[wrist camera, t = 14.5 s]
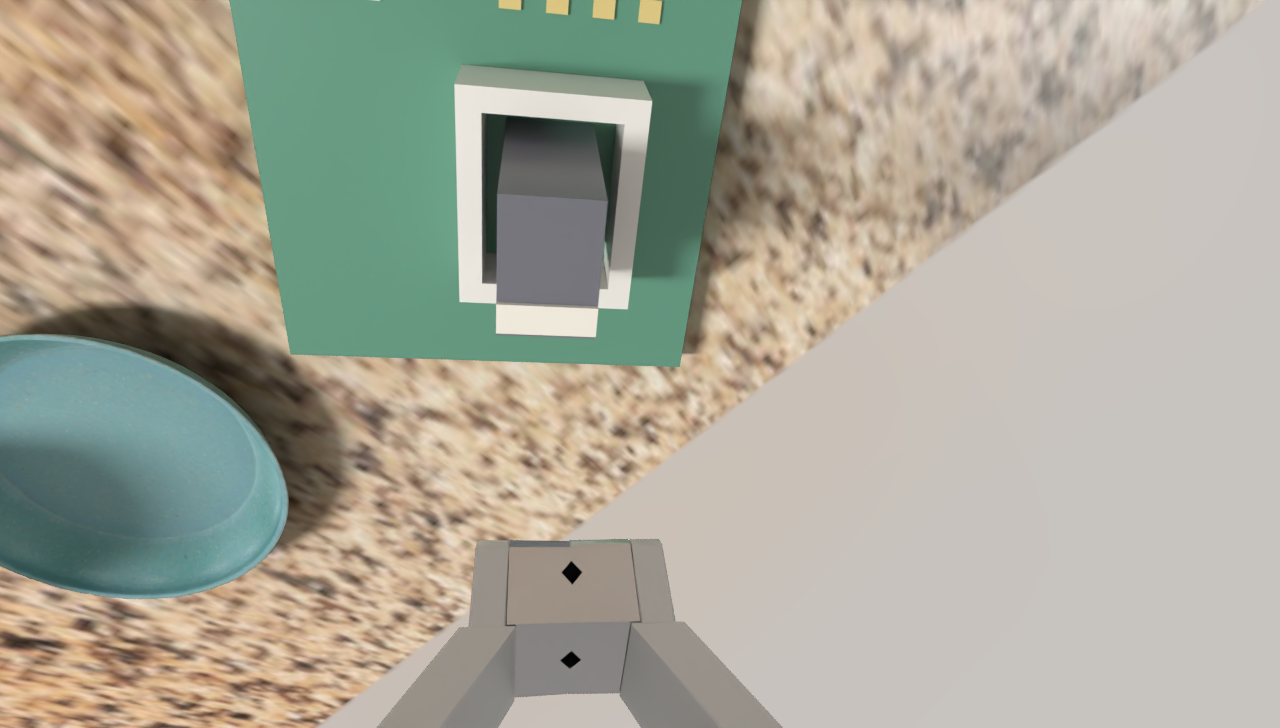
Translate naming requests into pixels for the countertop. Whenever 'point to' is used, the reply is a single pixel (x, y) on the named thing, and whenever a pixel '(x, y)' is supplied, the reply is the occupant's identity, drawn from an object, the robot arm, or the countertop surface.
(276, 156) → the board
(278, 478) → the saucer
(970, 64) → the countertop surface
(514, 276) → the plug
